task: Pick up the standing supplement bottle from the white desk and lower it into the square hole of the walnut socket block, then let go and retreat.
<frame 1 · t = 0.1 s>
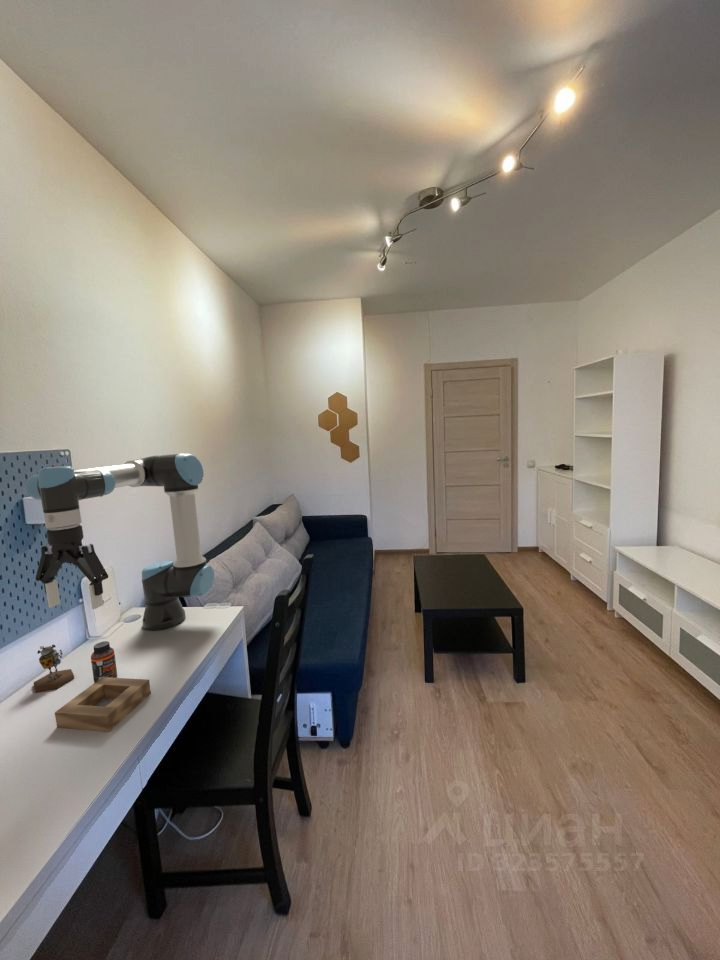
hand: (75, 606, 108), 28 cm above the table, fingers open, 13 cm apart
robot figurine: (55, 682, 124), on the table
socket block: (106, 709, 109), on the table
supplement bottle: (106, 681, 123), on the table
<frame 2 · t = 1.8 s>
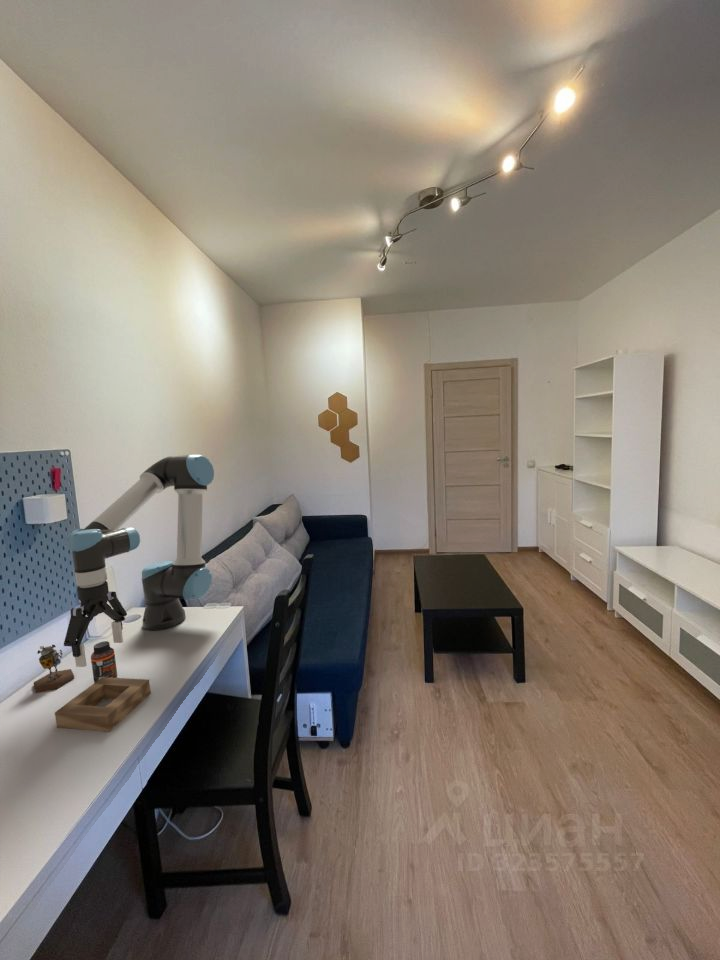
hand: (100, 653, 121), 9 cm above the table, fingers open, 13 cm apart
nothing on the table moved.
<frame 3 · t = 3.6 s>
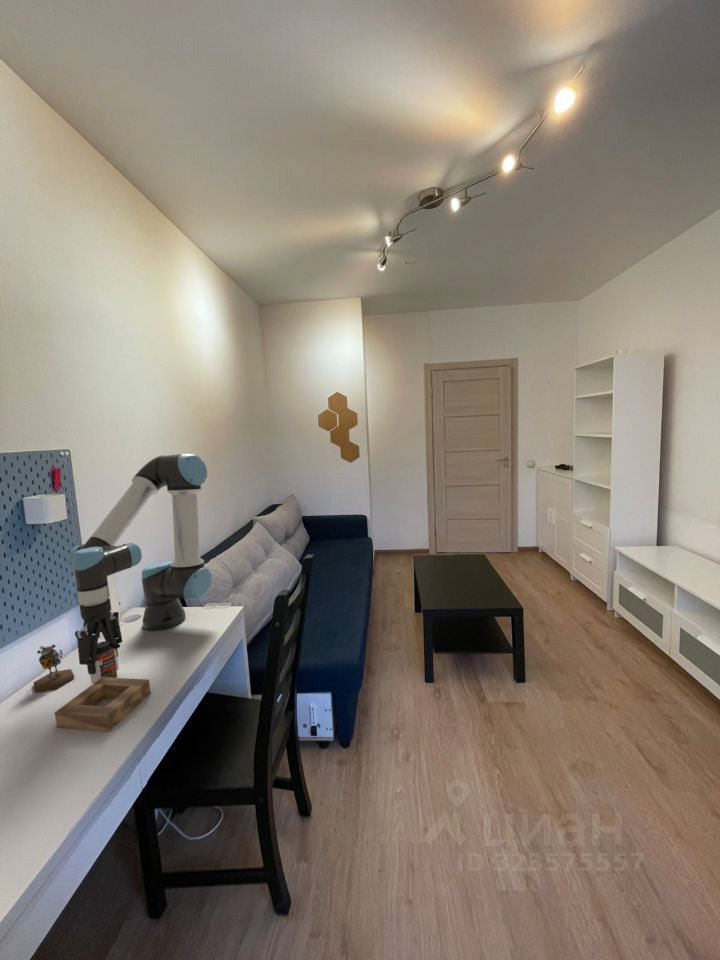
hand: (105, 675, 122), 1 cm above the table, fingers closed on supplement bottle, 6 cm apart
supplement bottle: (106, 680, 123), on the table, touching gripper
everything else where it was.
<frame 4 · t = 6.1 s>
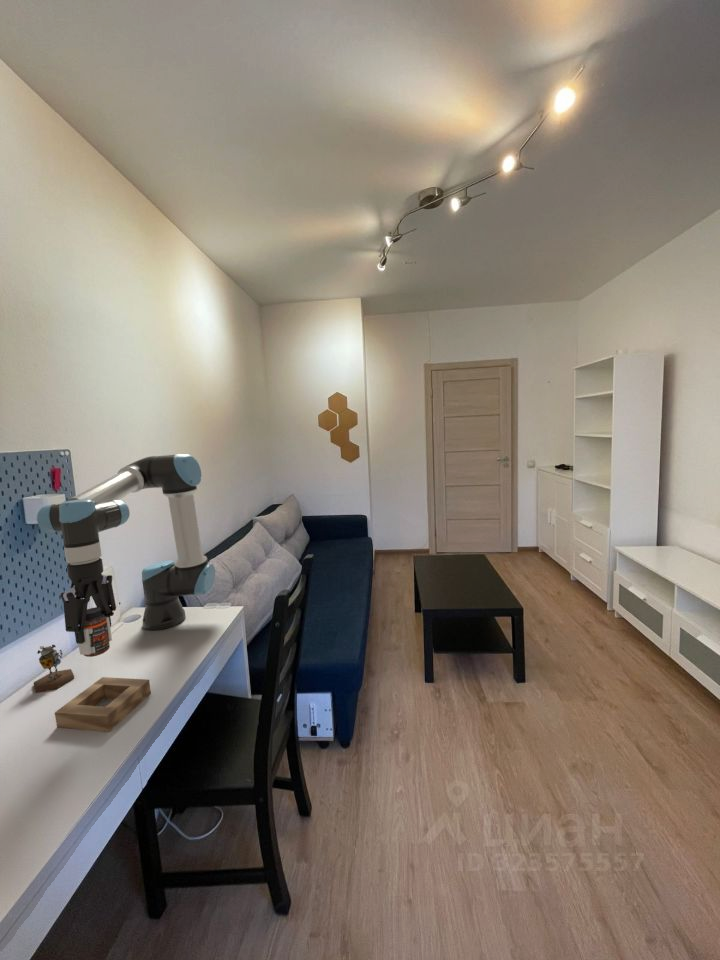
hand: (96, 646, 107), 17 cm above the table, fingers closed on supplement bottle, 6 cm apart
supplement bottle: (97, 652, 107), point 16 cm above the table, touching gripper
everything else where it was.
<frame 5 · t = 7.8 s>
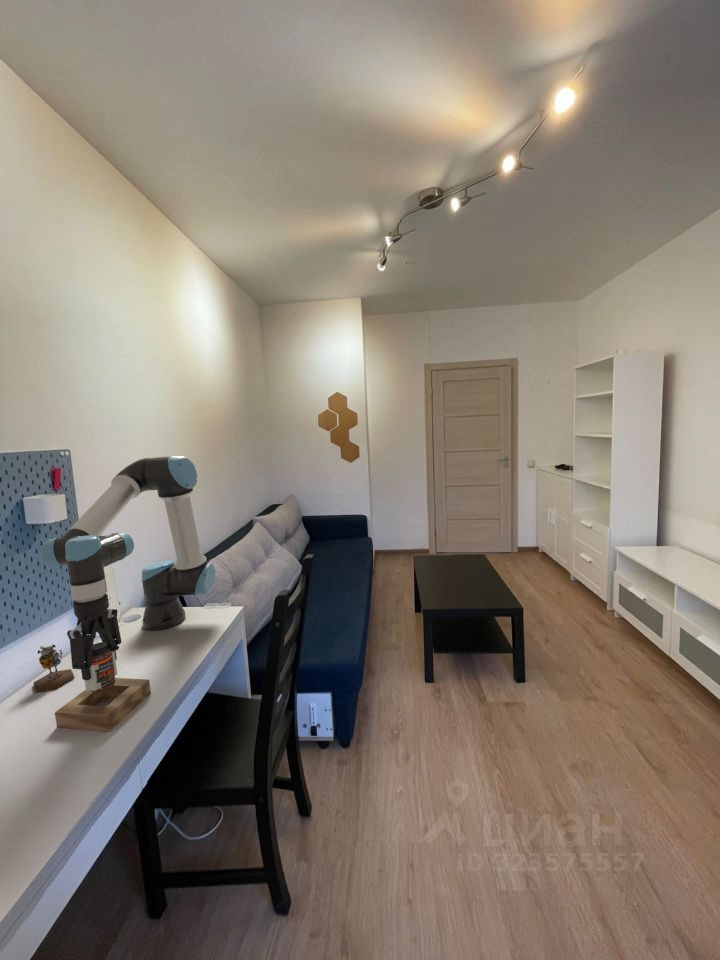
hand: (102, 681, 108), 8 cm above the table, fingers closed on supplement bottle, 6 cm apart
supplement bottle: (102, 687, 108), point 6 cm above the table, touching gripper
everything else where it was.
when the fingers open (5 cm above the table, at t = 9.1 s): supplement bottle drops 4 cm, resting in socket block.
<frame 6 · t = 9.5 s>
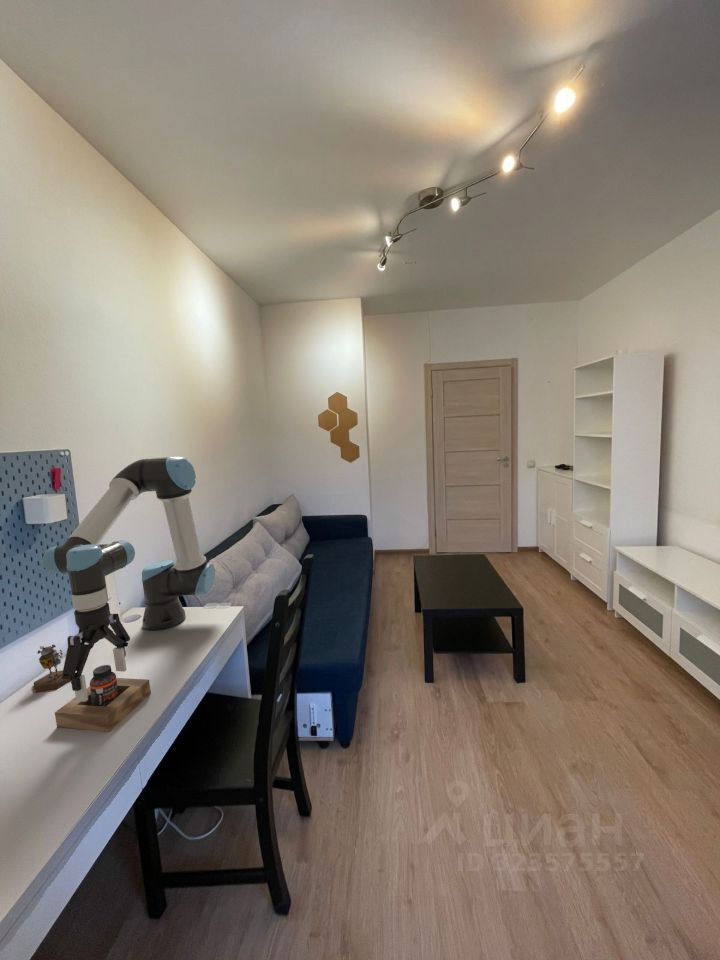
hand: (102, 684, 108), 7 cm above the table, fingers open, 12 cm apart
supplement bottle: (106, 709, 109), resting in socket block
everything else where it was.
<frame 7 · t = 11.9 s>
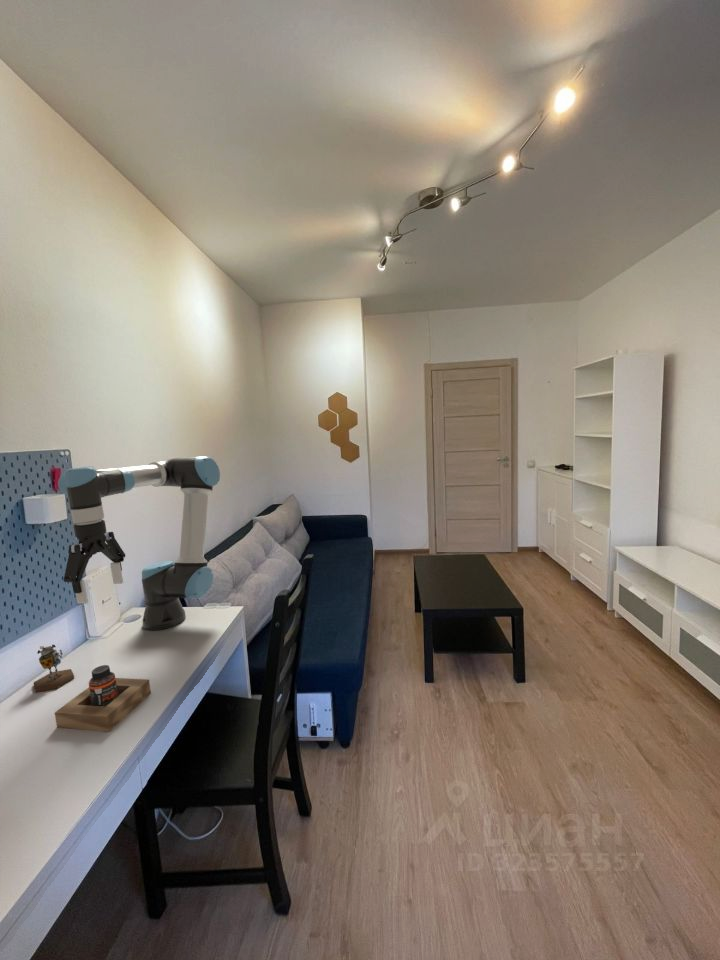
hand: (101, 592, 120), 27 cm above the table, fingers open, 13 cm apart
nothing on the table moved.
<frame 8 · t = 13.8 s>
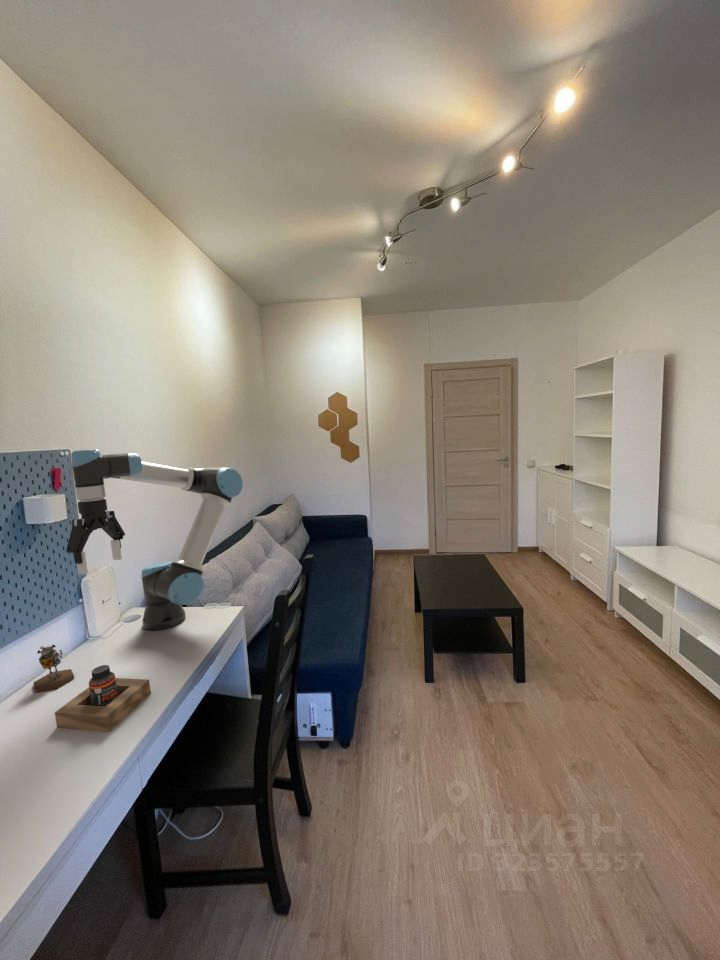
hand: (101, 566, 130), 32 cm above the table, fingers open, 13 cm apart
nothing on the table moved.
at the end: supplement bottle inside the target area on the socket block (0.1 cm from its centre), point 0.0 cm above the socket block's base; supplement bottle tilted 1°; the gripper is holding nothing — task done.
